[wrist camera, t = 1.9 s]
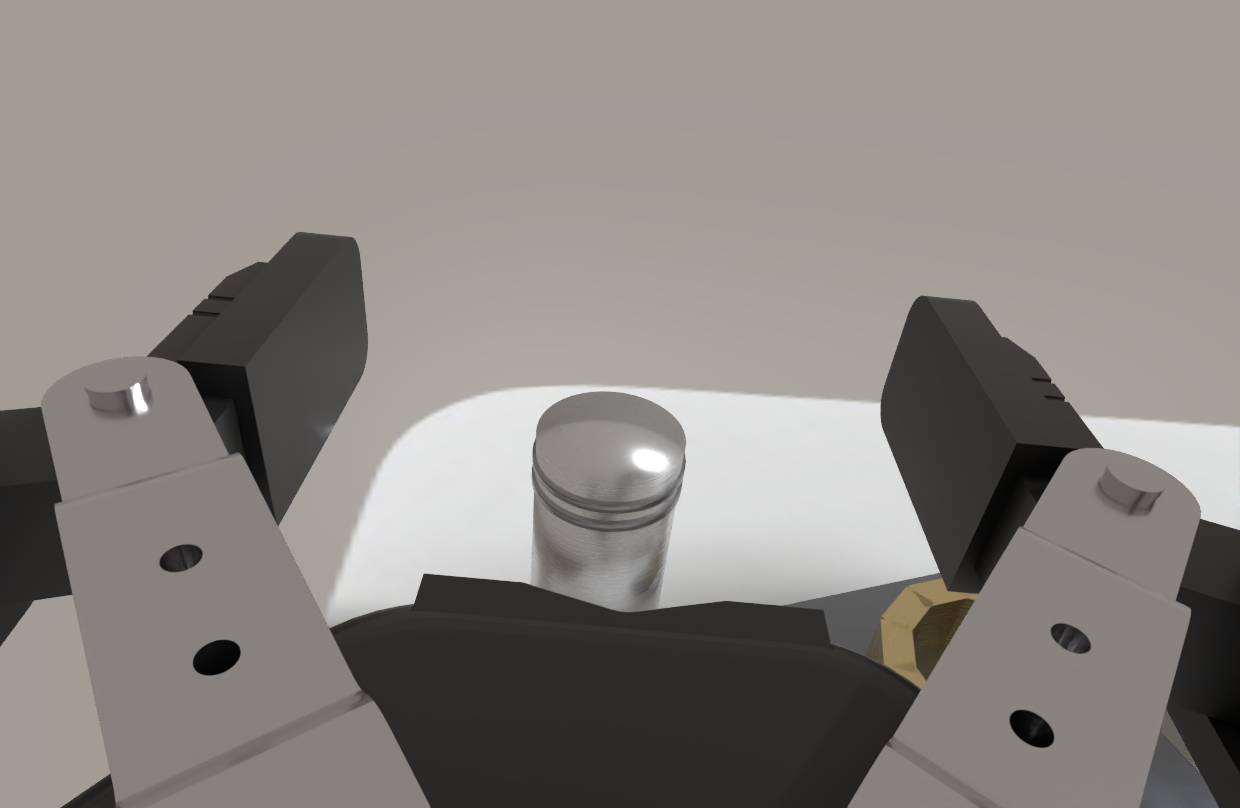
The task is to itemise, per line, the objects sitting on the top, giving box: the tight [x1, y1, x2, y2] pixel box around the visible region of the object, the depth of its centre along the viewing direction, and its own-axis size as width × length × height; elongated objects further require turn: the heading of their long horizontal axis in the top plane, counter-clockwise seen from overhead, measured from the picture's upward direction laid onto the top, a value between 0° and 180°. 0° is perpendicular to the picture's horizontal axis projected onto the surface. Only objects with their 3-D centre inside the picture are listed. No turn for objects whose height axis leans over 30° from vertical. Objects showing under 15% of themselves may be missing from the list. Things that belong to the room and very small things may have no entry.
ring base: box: [784, 573, 1219, 808], centre depth 32 cm, size 14×14×4 cm
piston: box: [531, 392, 686, 612], centre depth 30 cm, size 5×5×12 cm
